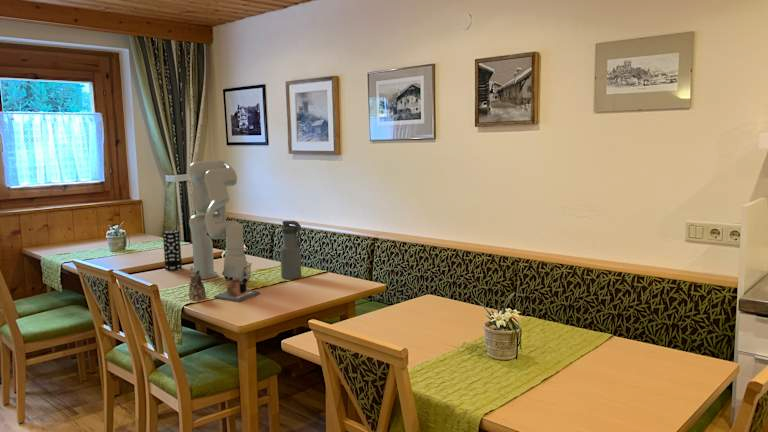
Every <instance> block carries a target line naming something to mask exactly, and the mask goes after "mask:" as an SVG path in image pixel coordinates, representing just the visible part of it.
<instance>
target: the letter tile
mask: <svg viewBox="0 0 768 432" xmlns="http://www.w3.org/2000/svg"><path fill="white" fill-rule="evenodd" d="M260 294H261V291H258V290H253V289H252V290H251V289H247V293H245V294H243V295H240V296H233V295H228V294H227V290H226V291H224V292H221V293H219V294H216V295H214V296H213V298H214V299H217V300H224V301H231V302H237V303H240V302H243V301H246V300H248V299H250V298H253V297H255V296H257V295H260Z"/></svg>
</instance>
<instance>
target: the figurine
mask: <svg viewBox="0 0 768 432" xmlns="http://www.w3.org/2000/svg"><path fill="white" fill-rule="evenodd" d="M199 272H200V271H199V270H198V271H197V272H193V271H192V273H191V274H190V276H189V277H190V282H189V287H188V297H189V299H188V300H190V301H201V299H202V300H204V299H205V298H206V294H207V293H206V289H205V284H204V282H203V281H202V279H201V276H200V275H199Z"/></svg>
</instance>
